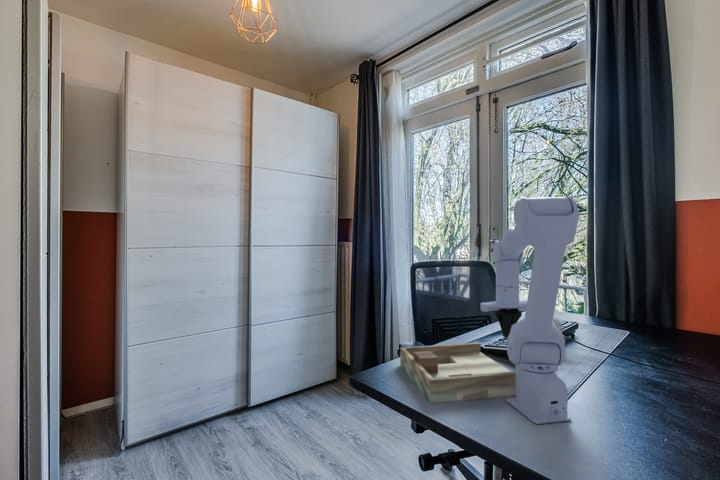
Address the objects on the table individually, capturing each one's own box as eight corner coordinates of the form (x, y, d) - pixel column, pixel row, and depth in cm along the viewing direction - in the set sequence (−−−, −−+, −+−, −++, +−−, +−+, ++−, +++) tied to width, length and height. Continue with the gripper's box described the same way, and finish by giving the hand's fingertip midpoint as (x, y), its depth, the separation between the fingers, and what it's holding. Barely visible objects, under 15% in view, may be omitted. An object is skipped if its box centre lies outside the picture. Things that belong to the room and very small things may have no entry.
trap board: (529, 394, 76) (529, 372, 76) (430, 403, 72) (430, 380, 71) (478, 359, 97) (478, 342, 97) (400, 365, 93) (400, 347, 93)
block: (437, 373, 81) (437, 357, 81) (420, 374, 80) (420, 358, 80) (430, 366, 86) (430, 351, 86) (414, 367, 85) (414, 352, 85)
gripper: (521, 283, 93) (521, 331, 93) (474, 284, 91) (474, 334, 91) (539, 287, 86) (539, 339, 86) (489, 288, 84) (488, 342, 84)
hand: (507, 337), depth 88 cm, fingers closed
